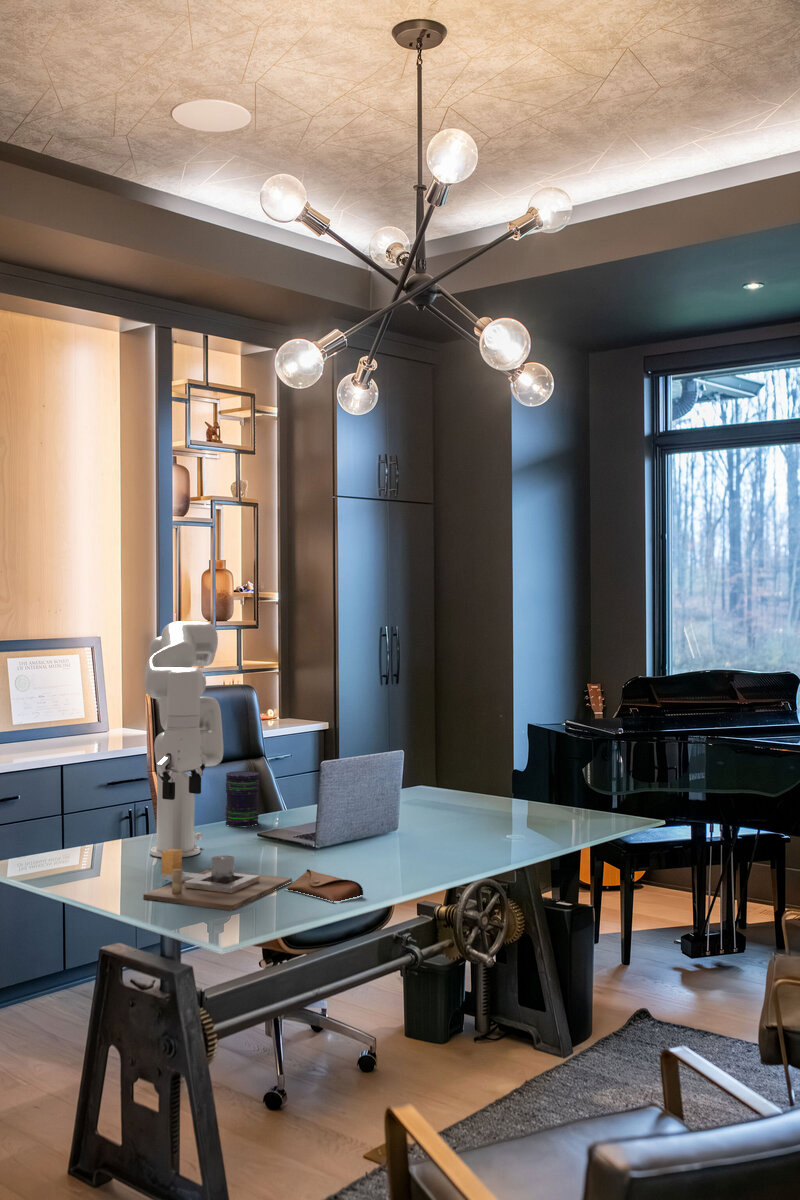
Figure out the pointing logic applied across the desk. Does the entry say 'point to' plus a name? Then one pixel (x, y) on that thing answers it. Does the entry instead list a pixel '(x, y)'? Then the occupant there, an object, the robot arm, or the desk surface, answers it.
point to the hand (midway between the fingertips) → (181, 796)
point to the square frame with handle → (201, 875)
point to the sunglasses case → (326, 886)
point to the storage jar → (242, 798)
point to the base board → (218, 893)
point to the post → (222, 869)
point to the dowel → (176, 881)
